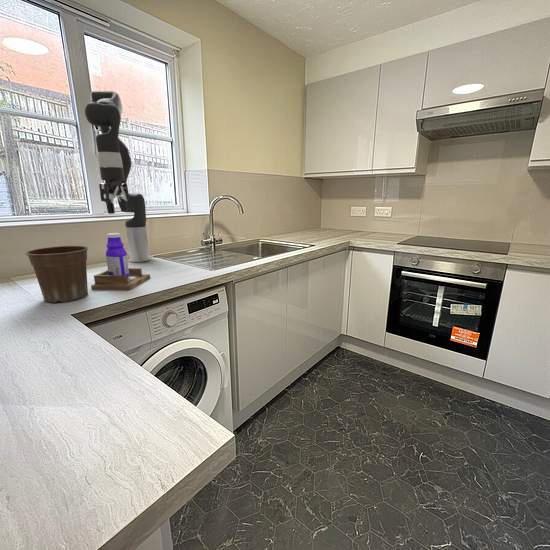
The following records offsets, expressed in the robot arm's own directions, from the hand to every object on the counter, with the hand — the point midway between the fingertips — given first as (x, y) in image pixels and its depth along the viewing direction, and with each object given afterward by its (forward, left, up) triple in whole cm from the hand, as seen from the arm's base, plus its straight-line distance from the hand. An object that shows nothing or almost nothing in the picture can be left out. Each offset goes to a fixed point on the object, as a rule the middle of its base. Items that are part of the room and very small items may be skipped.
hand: (118, 212), depth 111 cm
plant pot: (+20, -10, -27) cm, 35 cm away
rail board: (+4, 0, -27) cm, 27 cm away
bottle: (+4, -1, -25) cm, 25 cm away
